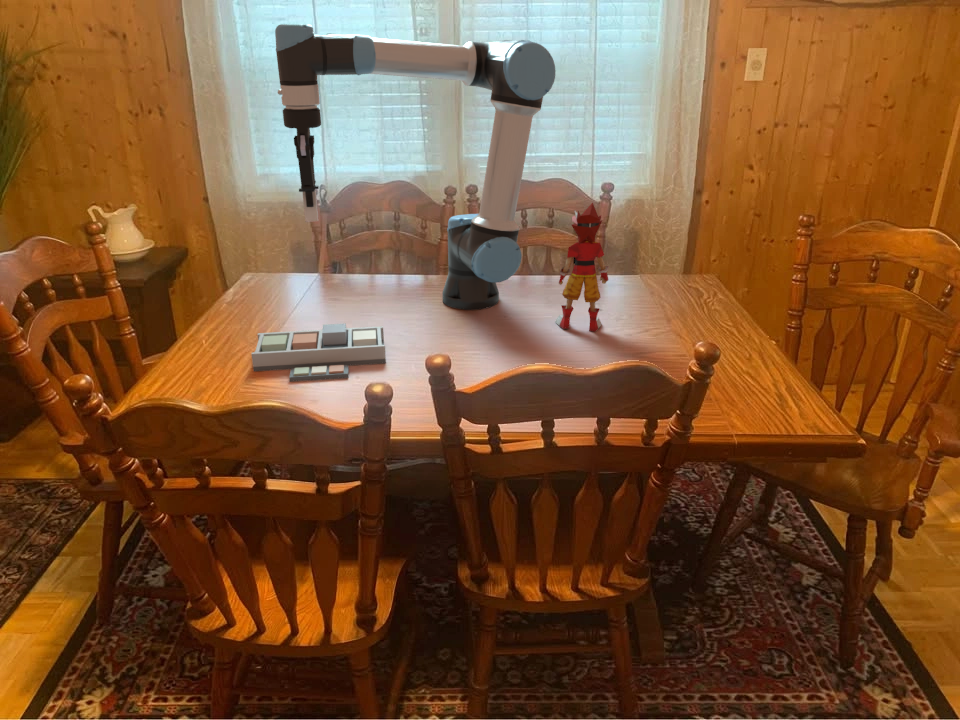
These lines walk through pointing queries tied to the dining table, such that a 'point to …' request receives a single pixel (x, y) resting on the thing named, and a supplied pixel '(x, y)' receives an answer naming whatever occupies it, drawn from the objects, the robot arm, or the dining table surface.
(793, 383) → the dining table surface
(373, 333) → the key cream
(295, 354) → the grey base
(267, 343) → the key sage
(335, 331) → the key slate
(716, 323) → the dining table surface
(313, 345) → the key terracotta
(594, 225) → the toy
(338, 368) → the plaque
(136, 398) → the dining table surface
